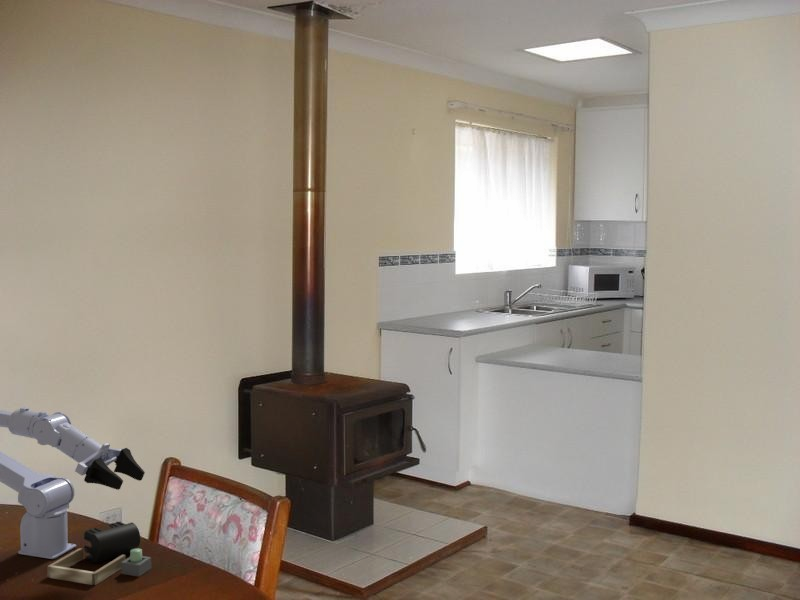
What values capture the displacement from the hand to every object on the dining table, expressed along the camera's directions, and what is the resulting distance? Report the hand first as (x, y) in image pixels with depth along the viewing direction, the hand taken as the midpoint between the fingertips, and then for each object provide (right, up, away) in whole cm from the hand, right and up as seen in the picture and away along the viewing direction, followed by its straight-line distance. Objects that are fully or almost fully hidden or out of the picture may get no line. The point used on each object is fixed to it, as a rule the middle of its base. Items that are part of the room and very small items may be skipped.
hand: (131, 480), depth 183 cm
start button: (+1, -18, -1) cm, 18 cm away
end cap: (-6, -18, +7) cm, 21 cm away
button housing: (+1, -19, -1) cm, 19 cm away
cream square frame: (-9, -19, -2) cm, 21 cm away
